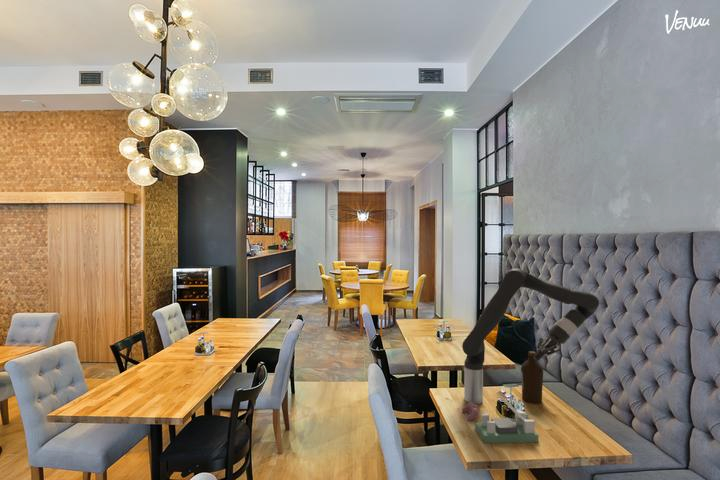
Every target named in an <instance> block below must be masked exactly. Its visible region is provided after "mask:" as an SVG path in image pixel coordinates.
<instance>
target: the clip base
mask: <svg viewBox="0 0 720 480" xmlns="http://www.w3.org/2000/svg"><path fill="white" fill-rule="evenodd" d="M517 412H518V413H519V414H520V415H521V416H523V417H524V418H525V419H526V420H523V422H522V421H521V420H520V418H519V417H518V416H517V415H516V414H515V413H514V415H515V421H512V419H510V417H503V418H502V417H500V418H499V417H498V418H494V417H493V418H491V419H490V415H489V413H481V414H480V421H479V422H476V421H475V424H474V426H475V428H474V429H475V431H476V432H477V434H478V435H479V437H480V438H481V439H482V441H483V443H484V444H499V443H500V444H501V443H502V444H503V443H506V444H507V443H512V444H513V443H539V434H538V432H536V428H535V427H536V426H535V425H536V424H535V423H536V421H535V420H534V419H527V412H525V411H517Z"/></svg>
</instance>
